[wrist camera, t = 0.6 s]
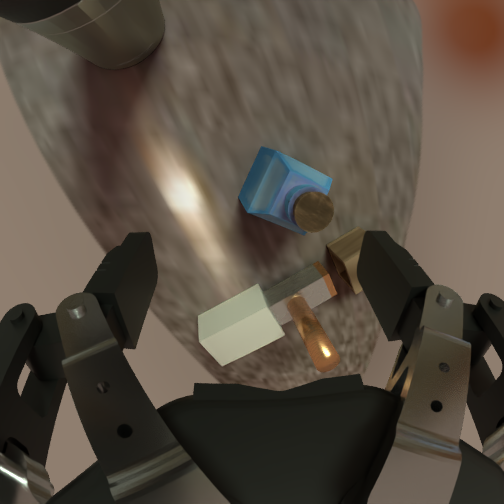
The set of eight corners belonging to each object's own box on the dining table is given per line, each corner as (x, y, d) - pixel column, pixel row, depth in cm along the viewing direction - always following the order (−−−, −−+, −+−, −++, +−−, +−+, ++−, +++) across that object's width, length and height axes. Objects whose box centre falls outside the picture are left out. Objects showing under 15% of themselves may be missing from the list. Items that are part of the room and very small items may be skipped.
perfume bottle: (309, 169, 32) (363, 192, 21) (286, 216, 34) (328, 260, 23) (261, 146, 30) (297, 156, 19) (238, 197, 32) (260, 234, 21)
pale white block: (197, 315, 37) (198, 341, 32) (257, 283, 37) (266, 306, 32) (218, 340, 39) (222, 366, 35) (274, 310, 39) (285, 335, 34)
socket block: (326, 244, 36) (344, 262, 32) (358, 226, 36) (379, 241, 31) (338, 274, 38) (355, 294, 34) (368, 256, 38) (388, 274, 34)
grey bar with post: (208, 321, 37) (217, 403, 25) (318, 261, 36) (371, 325, 24) (221, 337, 38) (235, 417, 26) (326, 280, 37) (377, 346, 25)
